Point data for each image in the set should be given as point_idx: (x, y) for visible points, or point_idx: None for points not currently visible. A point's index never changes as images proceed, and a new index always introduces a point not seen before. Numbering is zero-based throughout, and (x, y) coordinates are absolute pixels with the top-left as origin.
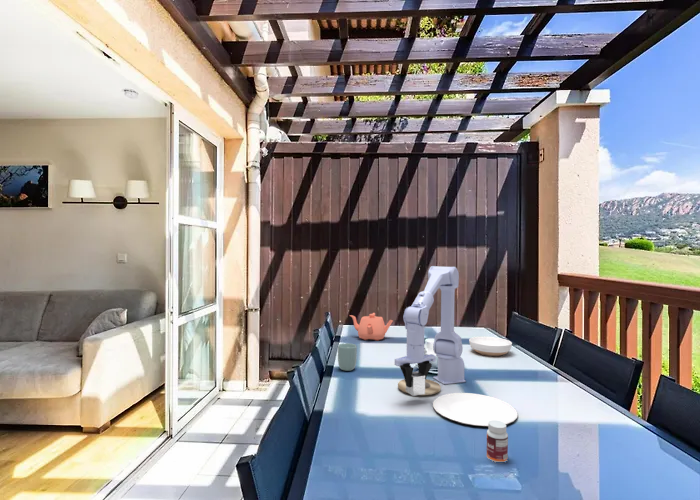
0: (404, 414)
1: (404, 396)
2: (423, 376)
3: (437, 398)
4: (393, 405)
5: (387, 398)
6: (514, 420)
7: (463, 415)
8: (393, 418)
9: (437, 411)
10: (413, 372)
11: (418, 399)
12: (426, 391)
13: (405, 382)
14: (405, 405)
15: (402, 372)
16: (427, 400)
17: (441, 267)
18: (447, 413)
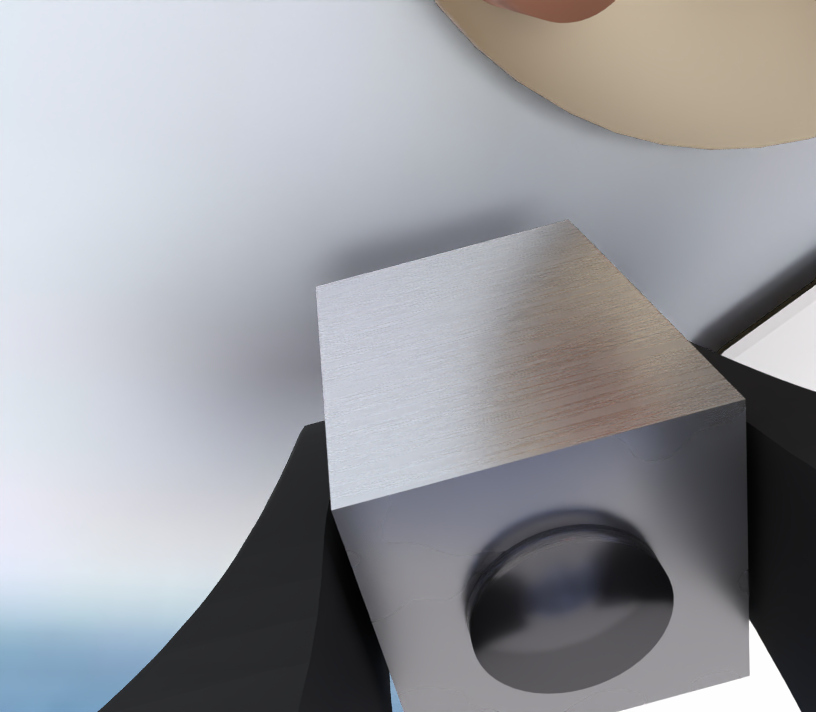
0: (192, 603)
1: (347, 27)
2: (695, 674)
3: (764, 349)
4: (88, 367)
5: (9, 79)
6: None
7: (768, 672)
8: (48, 677)
9: None
10: (550, 561)
11: (531, 193)
12: (757, 90)
13: (289, 461)
14: (267, 381)
15: (192, 619)
16: (643, 246)
17: None
18: (623, 710)
